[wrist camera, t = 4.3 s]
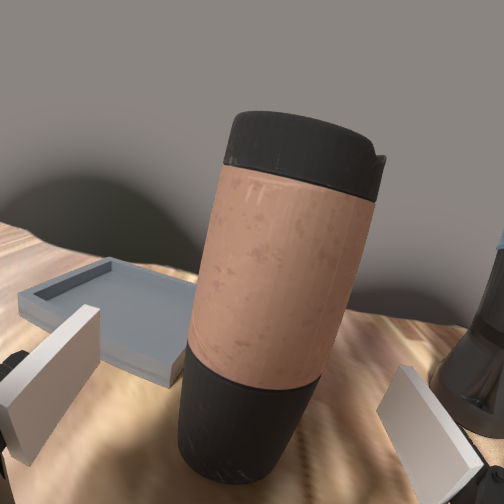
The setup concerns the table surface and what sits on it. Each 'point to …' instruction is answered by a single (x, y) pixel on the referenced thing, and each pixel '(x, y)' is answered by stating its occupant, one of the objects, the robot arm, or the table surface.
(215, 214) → the travel mug
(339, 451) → the table surface
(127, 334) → the slate tray
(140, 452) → the table surface
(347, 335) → the table surface
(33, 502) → the table surface
